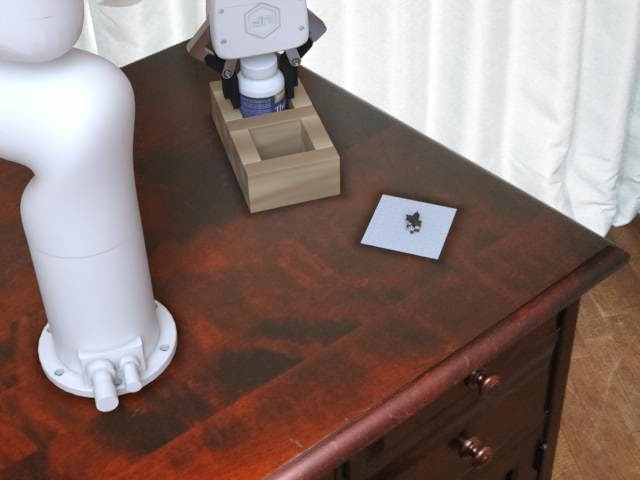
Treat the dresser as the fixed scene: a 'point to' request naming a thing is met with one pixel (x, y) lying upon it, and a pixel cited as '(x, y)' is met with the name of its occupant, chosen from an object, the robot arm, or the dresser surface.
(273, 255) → the dresser surface
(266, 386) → the dresser surface
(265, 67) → the pill bottle
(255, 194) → the socket block
